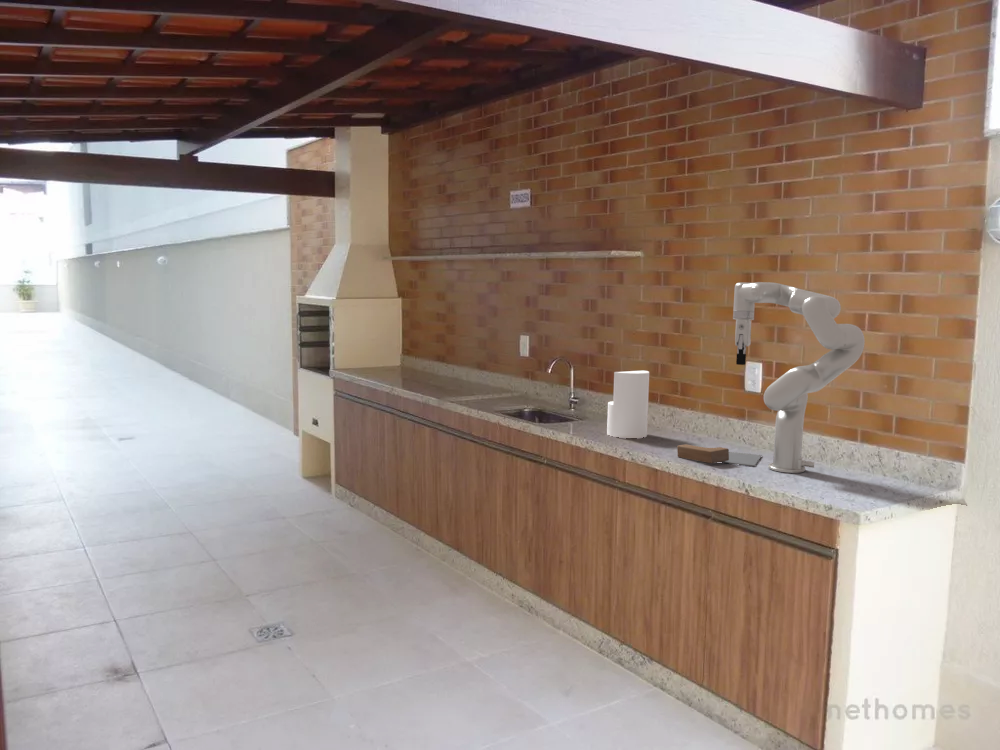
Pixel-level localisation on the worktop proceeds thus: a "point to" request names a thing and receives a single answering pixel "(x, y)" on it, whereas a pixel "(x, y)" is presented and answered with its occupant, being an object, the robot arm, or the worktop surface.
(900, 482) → the worktop surface
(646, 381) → the stepped white pillar
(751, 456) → the mat
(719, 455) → the wooden block
